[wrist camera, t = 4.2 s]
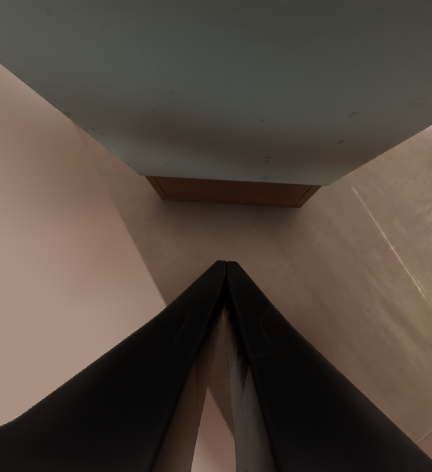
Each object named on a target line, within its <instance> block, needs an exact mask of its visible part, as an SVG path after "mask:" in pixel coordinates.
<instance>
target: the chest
mask: <svg viewBox="0 0 432 472" xmlns="http://www.w3.org/2000/svg"><path fill="white" fill-rule="evenodd" d="M145 177H146V178H147V180H148V181H149V182H150V184H151V185H152V186H153V188H154V189H155V191H156V192H157V193H158V195H159V196H160V198H161V199H163V200H179V201H196V202H212V203H229V204H245V205H262V206H278V207H295V208H301V207H302V206H303V204H304V203H305V202H306V201H307V200H308V199H309V198H310V197H311V196H312V195H313V194H314V193H315V192H316V191H317V190H318V189H319V188H320V187H321V186H322V185H306V184H288V183H270V182H252V181H234V180H216V179H198V178H180V177H162V176H145Z"/></svg>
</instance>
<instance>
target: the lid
mask: <svg viewBox="0 0 432 472" xmlns="http://www.w3.org/2000/svg"><path fill="white" fill-rule="evenodd" d="M0 63H1V64H2V65H3V66H4V67H5V68H6V69H8V70H9V71H10V72H11V73H13V74H14V75H15V76H17V77H18V78H19V79H20V80H21V81H23V82H24V83H25V84H27V85H28V86H29V87H30V88H32V89H33V90H34V91H35V92H37V93H38V94H39V95H40V96H42V97H43V98H44V99H45V100H47V101H48V102H49V103H50V104H52V105H53V106H54V107H55V108H57V109H58V110H59V111H60V112H62V113H63V114H64V115H65V116H67V117H68V118H69V119H70V120H72V121H73V122H74V123H75V124H77V125H78V126H79V127H80V128H82V129H83V130H84V131H85V132H87V133H88V134H89V135H90V136H92V137H93V138H94V139H95V140H97V141H98V142H99V143H100V144H102V145H103V146H104V147H105V148H107V149H108V150H109V151H110V152H112V153H113V154H114V155H115V156H117V157H118V158H119V159H120V160H122V161H123V162H124V163H125V164H127V165H128V166H129V167H130V168H132V169H133V170H134V171H136V172H137V173H138V174H139V175H143V176H162V177H180V178H198V179H216V180H234V181H252V182H270V183H288V184H306V185H324V186H327V185H329V184H331V183H333V182H334V181H336V180H338V179H340V178H341V177H343V176H345V175H346V174H348V173H350V172H352V171H353V170H355V169H357V168H358V167H360V166H362V165H364V164H365V163H367V162H369V161H370V160H372V159H374V158H376V157H377V156H379V155H381V154H383V153H384V152H386V151H388V150H389V149H391V148H393V147H395V146H396V145H398V144H400V143H401V142H403V141H405V140H407V139H408V138H410V137H412V136H413V135H415V134H417V133H419V132H420V131H422V130H424V129H425V128H427V127H429V126H431V125H432V0H0Z"/></svg>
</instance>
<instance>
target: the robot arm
mask: <svg viewBox="0 0 432 472" xmlns="http://www.w3.org/2000/svg"><path fill="white" fill-rule="evenodd" d="M224 299H225V300H224ZM223 310H224V316H225V328H226V340H227V352H228V364H229V376H230V389H231V401H232V413H233V425H234V432H235V433H234V437H235V452H236V472H432V459H431V458H430V457H429V456H428V455H427V454H425V453H424V452H423V451H422V450H421V449H420V448H419V447H418V446H417V445H416V444H415V443H414V442H413V441H412V440H411V439H410V438H409V437H408V436H407V435H406V434H405V433H403V432H402V431H401V430H400V429H399V428H398V427H397V426H396V425H395V424H394V423H393V422H392V421H391V420H390V419H389V418H388V417H387V416H386V415H385V414H384V413H382V412H381V411H380V410H379V409H378V408H377V407H376V406H375V405H374V404H373V403H372V402H371V401H370V400H369V399H368V398H367V397H366V396H365V395H364V394H362V393H361V392H360V391H359V390H358V389H357V388H356V387H355V386H354V385H353V384H352V383H351V382H350V381H349V380H348V379H347V378H346V377H345V376H344V375H343V374H341V373H340V372H339V371H338V370H337V369H336V368H335V367H334V366H333V365H332V364H331V363H330V362H329V361H328V360H327V359H326V358H325V357H324V356H323V355H322V354H320V353H319V352H318V351H317V350H316V349H315V348H314V347H313V346H312V345H311V344H310V343H309V342H308V341H307V340H306V339H305V338H304V337H303V336H302V335H301V334H300V333H299V332H298V331H297V330H296V329H295V328H294V327H293V326H292V325H291V324H290V323H289V322H288V321H287V320H286V319H285V318H284V317H283V315H282V314H281V313H280V312H279V311H278V310H277V308H275V307H274V305H273V304H272V303H271V302H270V301H269V299H268V298H267V297H266V296H265V295H264V294H263V292H262V291H261V290H260V289H259V288H258V286H257V285H256V284H255V283H254V282H253V281H252V279H251V278H250V277H249V276H248V275H247V273H246V272H245V271H244V270H243V269H242V268H241V266H240V265H239V264H238V263H237V262H235V261H228V262H226V261H221V260H218V261H216V262H215V263H214V264H213V265H212V266H211V267H210V268H209V269H208V270H207V271H206V272H204V273H203V274H202V275H201V276H200V277H199V278H198V279H197V280H196V281H195V282H194V283H193V284H192V285H190V286H189V287H188V288H187V289H186V290H185V291H184V292H183V293H182V294H181V295H180V296H179V297H178V298H176V300H174V301H173V302H172V303H171V304H170V305H168V306H167V307H166V308H165V309H164V310H163V311H162V312H160V313H159V314H158V315H157V316H155V317H154V318H153V319H152V320H150V321H149V322H148V323H146V324H145V325H144V326H142V327H141V328H139V329H138V330H137V331H135V332H134V333H133V334H131V335H130V336H129V337H127V338H126V339H124V340H123V341H122V342H120V343H119V344H118V345H116V346H115V347H114V348H112V349H111V350H110V351H108V352H107V353H105V354H104V355H103V356H101V357H100V358H99V359H97V360H96V361H94V362H93V363H92V364H90V365H89V366H88V367H86V368H85V369H83V370H82V371H81V372H79V373H78V374H77V375H75V376H74V377H73V378H71V379H70V380H68V381H67V382H66V383H64V384H63V385H62V386H60V387H59V388H58V389H56V390H55V391H53V392H52V393H51V394H49V395H48V396H47V397H45V398H44V399H43V400H41V401H40V402H38V403H37V404H36V405H34V406H33V407H32V408H30V409H29V410H28V411H26V412H25V413H23V414H22V415H21V416H19V417H17V418H16V419H14V420H13V421H11V422H9V423H7V424H4V425H2V426H0V472H191V466H192V461H193V455H194V449H195V444H196V439H197V434H198V428H199V424H200V420H201V415H202V410H203V405H204V401H205V396H206V391H207V386H208V382H209V377H210V372H211V368H212V363H213V358H214V353H215V349H216V344H217V339H218V334H219V330H220V325H221V320H222V315H223Z"/></svg>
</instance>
